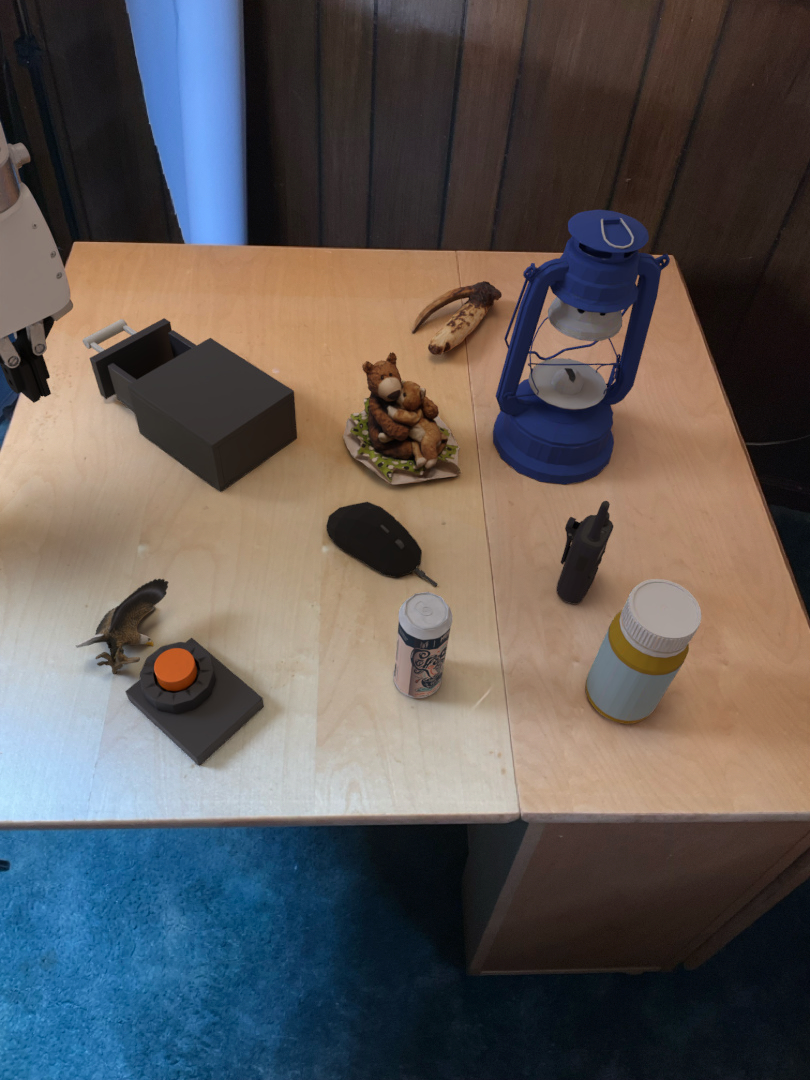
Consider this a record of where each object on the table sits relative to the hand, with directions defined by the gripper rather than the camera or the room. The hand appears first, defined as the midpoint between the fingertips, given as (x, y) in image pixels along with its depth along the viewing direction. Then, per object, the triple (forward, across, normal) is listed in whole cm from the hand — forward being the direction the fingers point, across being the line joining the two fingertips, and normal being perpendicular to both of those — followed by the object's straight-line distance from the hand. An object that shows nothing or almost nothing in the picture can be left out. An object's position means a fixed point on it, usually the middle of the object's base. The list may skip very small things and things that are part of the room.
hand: (32, 390), depth 69 cm
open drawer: (+22, -21, -17) cm, 35 cm away
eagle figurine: (+23, +4, +12) cm, 26 cm away
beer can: (+22, -13, +36) cm, 44 cm away
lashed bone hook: (+22, -60, +1) cm, 64 cm away
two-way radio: (+22, -33, +40) cm, 56 cm away
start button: (+20, +4, +20) cm, 28 cm away
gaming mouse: (+22, -22, +22) cm, 39 cm away
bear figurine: (+22, -36, +13) cm, 44 cm away
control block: (+23, +4, +22) cm, 32 cm away
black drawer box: (+23, -22, -5) cm, 32 cm away
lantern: (+22, -50, +26) cm, 61 cm away
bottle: (+22, -25, +51) cm, 61 cm away
